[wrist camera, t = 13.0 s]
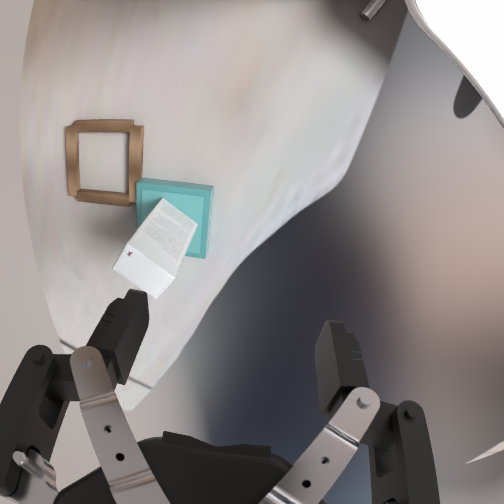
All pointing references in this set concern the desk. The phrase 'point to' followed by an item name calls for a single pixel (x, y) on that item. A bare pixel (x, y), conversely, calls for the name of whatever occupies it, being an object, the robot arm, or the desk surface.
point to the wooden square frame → (134, 160)
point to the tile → (179, 207)
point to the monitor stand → (465, 40)
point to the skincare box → (156, 249)
